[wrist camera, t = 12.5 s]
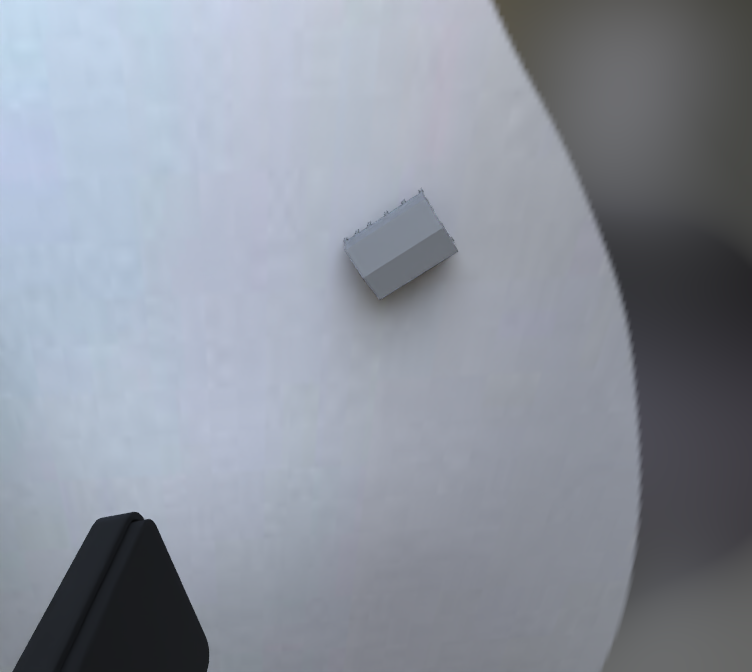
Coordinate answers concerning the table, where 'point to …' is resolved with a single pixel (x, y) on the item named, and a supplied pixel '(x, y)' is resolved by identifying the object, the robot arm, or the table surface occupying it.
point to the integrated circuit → (400, 246)
